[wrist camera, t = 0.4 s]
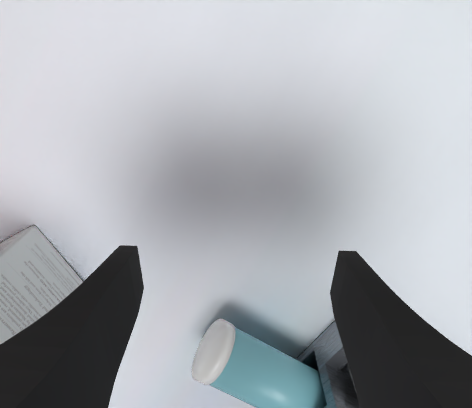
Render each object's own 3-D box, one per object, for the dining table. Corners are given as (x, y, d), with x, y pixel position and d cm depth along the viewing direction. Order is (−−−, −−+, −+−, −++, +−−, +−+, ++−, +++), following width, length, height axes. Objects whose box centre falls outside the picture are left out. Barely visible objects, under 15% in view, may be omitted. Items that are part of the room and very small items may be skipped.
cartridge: (362, 380, 29) (381, 432, 25) (328, 410, 30) (340, 464, 27) (226, 306, 26) (224, 353, 22) (195, 343, 28) (188, 393, 24)
